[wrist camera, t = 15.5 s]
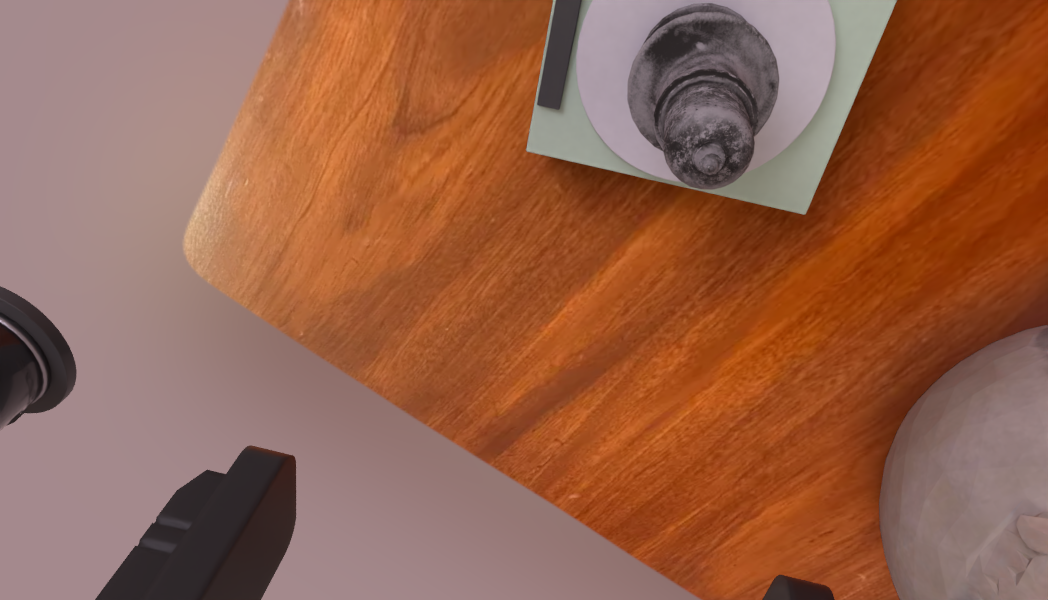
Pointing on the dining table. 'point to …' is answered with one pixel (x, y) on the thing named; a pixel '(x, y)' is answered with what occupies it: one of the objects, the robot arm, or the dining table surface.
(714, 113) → the salt shaker
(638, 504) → the dining table surface
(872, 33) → the scale
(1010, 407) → the bowl
